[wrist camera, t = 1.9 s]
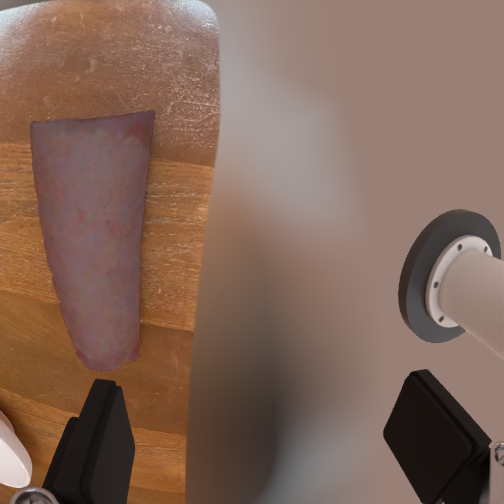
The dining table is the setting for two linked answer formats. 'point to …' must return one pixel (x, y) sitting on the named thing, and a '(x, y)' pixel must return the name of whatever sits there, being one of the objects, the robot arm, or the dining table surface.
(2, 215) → the dining table surface
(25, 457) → the bowl
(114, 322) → the brown tapered cylinder
